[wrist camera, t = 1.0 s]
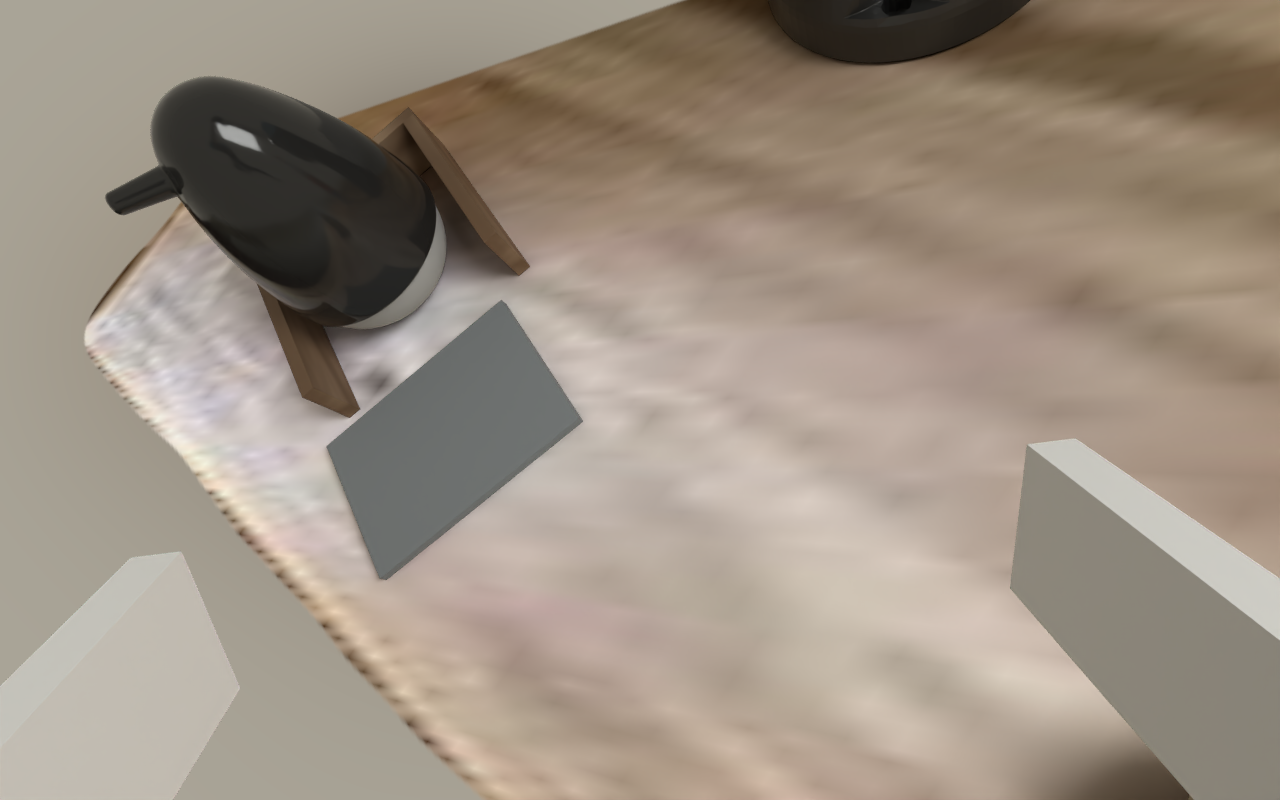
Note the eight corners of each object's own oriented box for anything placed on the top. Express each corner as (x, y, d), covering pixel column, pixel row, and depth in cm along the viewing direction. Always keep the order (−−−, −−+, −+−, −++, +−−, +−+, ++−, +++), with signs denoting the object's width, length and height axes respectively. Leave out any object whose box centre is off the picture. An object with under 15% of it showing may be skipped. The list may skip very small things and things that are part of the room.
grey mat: (506, 304, 39) (501, 299, 39) (583, 421, 35) (578, 418, 34) (332, 448, 40) (326, 446, 40) (386, 579, 36) (379, 578, 36)
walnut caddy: (443, 144, 46) (408, 107, 43) (529, 266, 40) (495, 232, 36) (289, 278, 47) (244, 251, 44) (349, 417, 41) (302, 397, 38)
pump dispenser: (310, 293, 46) (55, 140, 32) (421, 177, 45) (210, -25, 32) (379, 389, 41) (110, 253, 27) (504, 258, 40) (295, 58, 27)
